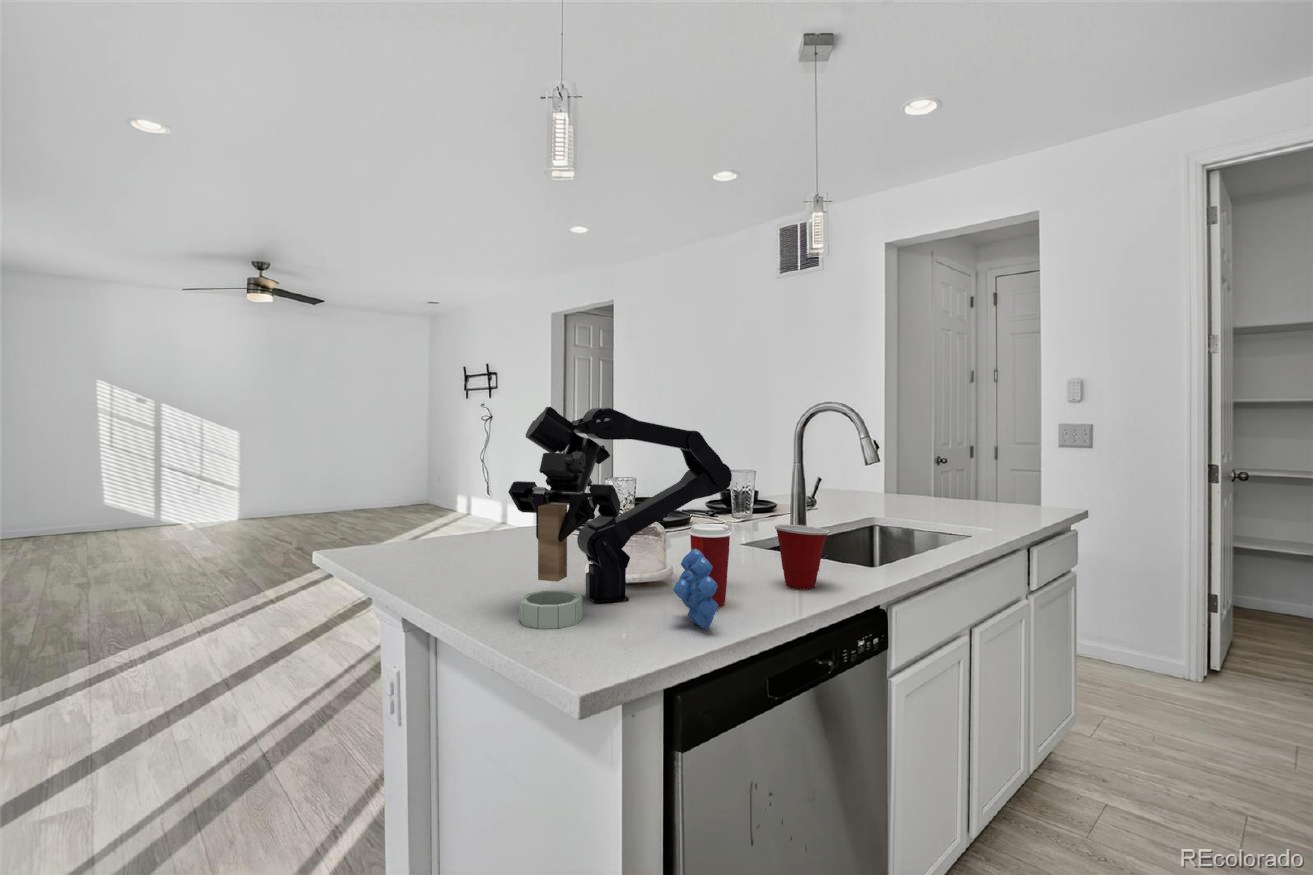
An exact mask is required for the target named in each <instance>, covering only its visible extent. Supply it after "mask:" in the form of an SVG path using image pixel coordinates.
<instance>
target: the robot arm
mask: <svg viewBox="0 0 1313 875" xmlns="http://www.w3.org/2000/svg"><path fill="white" fill-rule="evenodd" d="M579 434H584V435H586V436H587V438H586V437H583V436H581V435H579ZM525 438H526V439H527V440H530V441H531V442H533V443H534V444H535V445H537V446H538V447H540V448H541V449H542V450H545V451H546V452H543V453H542V457H541V460H540V467H539V473H540V474H543V475H544V476H545V477H546V479H545V484H546V485H547V486H548V487H550V489H548V488H546V487H544V486H538V485H537V484H536V482H535V481H525V480H524V481H521V480H520V481H519V480H517V481H513V482H512V484H511V485H510V487H509V489H508V494H509V496H510V498H511V501H513V503H514V505H515V507H516V508H517V510H518V511H519V512H521V513H531V514H535V518H536V519H535V527H536V528H535V535H536V539H537V540H538V506H541V505H545V504H565V505H567V506H568V508H567V514H566V516H565V519H564V521H563V524H562V526H561V529H560V532H559V536H558V540H559V541H560V542H562V541H563V540H564V539H566V538H567V539H568V537H569V536H571V534H572V533H574V532H575V531H576V530H577V529H578V528H580V527H581V526H583V525H584V524H586V525H584V526H583V527H581V529H579V531H578V535H577V539H576V542H577V546H578V548H579V550H580V551H581V552H582V553H584V554H585V556H586V558H587V561H588V562H590V563H588V572H585V596H586V597H588V598H589V599H590V600H591V601H592V602H593V603H595V604H603V603H612V602H613V603H615V602H623V601H629V599H630V597H629V596H628V595H627V594H626V590H627V589H626V587H627V585H626V580H627V579H626V578H627V576H626V573H627V572H626V569H628V567H629V566H628V565H629V563H630V559H631V556H630V555H629V554H628V553H627V552H626V551H625V550H623V548H624V547H625V546H626V545H627V543H628V542H629V541H630V539H631V538H632V537H633V536H634V535H635V534H637V533H639V532H641V531H642V530H643V531H644V529H646V528H647V527H649V526H651V525H652V524H655V523H656V522H658V521H659V520H662V519H663V518H665V517H667V516H668V515H669V514H672V513H673V512H675V511H676V510H678V509H680V508H682V507H683V506H685V505H687V504H689V503H691V502H692V501H694V500H698V499H702V498H707V497H711V496H713V495H717V494H720V493H722V492H725V491H727V490H728V488H730V486H731V485H732V484H731V482H732V481H733V480H732V479H733V478H732V476H733V475H732V471H731V468H730V467H729V466H728V465H727V464H726V463H724V462H723V460H722V459H721V457H720V455H718V454H717V452H716V451H715V450H714V449H713V448H712V447H711V446H710V445H709V444H708V442H707V441H706V439H705V438H704V436H703V434H702V433H701V432H700V431H699V430H689V429H688V430H687V429H682V428H676V427H673V426H668V425H667V426H666V425H662V424H657V423H652V422H647V421H642V420H638V419H636V418H634V417H631V416H630V415H627V414H626V413H624V412H620V411H618V410H616V409H614V408H610V407H594V408H590V409H589V410H588V411H586V412H585V414H584V415H583V416H582V417H581V418H578V419H577V420H572V421H570V420H569V419H567V418H566V417H564V416H563V415H561V414H560V413H559V412H558V411H557V410H556V409H554V408H553V407H552V406H546V407H545V408H544V410H543V411H542V412H540V414H539V415H538V416H537V417H536V418H535V420H534V419H533V421H532V422H531V424H530V425H529V426H528V429H527V431H526V433H525ZM594 439H595V440H605V441H606V440H607V441H609V440H617V441H619V440H622V441H623V440H631V441H632V440H633V441H638V442H643V443H649V444H655V445H659V446H664V447H670V448H675V449H679V450H680V451H681V453H682V456H683V460H684V463H685V465H686V466H687V469H688V470H687V471H686V472H685V473H684V474H683V476H682V477H681V478H680V480H679V481H677V482H676V483H674V484H672V485H671V486H669V487H667V488H665V489H664V490H662V491H660V492H658V493H657V494H655V495H653V496H652V497H650V498H648V499H646V500H644V501H642V502H641V503H639V504H637V505H635V506H634V507H632V508H630V509H629V510H626V511H625V512H623V513H622V514H620V511H621V501H620V498H619V495H618V493H617V490H616V488H615V487H614V485H613V484H601V483H593V481H592V478H591V476H592V473H593V470H594V468H595V465H596V464H597V465H600V464H602V463H604V462H605V461H606V460H607V459H609V458H610V456H611V455H610V452H609V451H608V450H607V449H606V446H605V445H600V444H599V443H597V442H596V441H595V440H594ZM564 451H565V452H564ZM587 487H589V488H588V491H589V492H586V491H587ZM596 509H597V512H598V514H599V515H597V516H596V515H595V511H596ZM619 514H620V515H619Z"/></svg>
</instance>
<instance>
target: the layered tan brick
mask: <svg viewBox="0 0 1313 875" xmlns="http://www.w3.org/2000/svg"><path fill="white" fill-rule="evenodd" d="M567 512H568V505H565V504H545V505H541V506H538V539H537V577H538V578H537V580H538V581H546V582H547V581H548V582H556V583H557V582H560V581H562V580H564V579H566V578H567V577H568V574H567V573H568V537H567V538H566V539H564V540H563V541H562V542H560V541H559V540H558V536H559V532H560V529H561V526H562V524H563V521H564V519H565V516H566V514H567Z"/></svg>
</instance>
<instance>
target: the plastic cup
mask: <svg viewBox="0 0 1313 875" xmlns="http://www.w3.org/2000/svg"><path fill="white" fill-rule="evenodd" d="M774 529H775V530H776V533H777V534H776V535H777V539H778V540H777V541H778V544H779V545H778V546H779V552H780V559H781V566H782V570H783V577H784V578H783V579H784V584H785V586H786V587H787V586H788V587H787V588H789V587H790V588H789V589H792V588H793V590H801V589H802V591H803V590H804V589H806V590H812V589H811V588H813V589H814V587H816V584H817V579H818V573H819V570H820V566H821V559H822V555H823V548H824V546H825V542H826V540H827V537H828V535H830V530H828V529H825V528H822V527H816V526H815V527H814V526H808V525H800V524H785V523H784V524H775V525H774ZM804 591H805V590H804Z"/></svg>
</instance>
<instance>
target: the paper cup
mask: <svg viewBox="0 0 1313 875" xmlns="http://www.w3.org/2000/svg"><path fill="white" fill-rule="evenodd" d="M687 534H688V535H689V536H690V551H691V550H692V549H698V550H699V551H700V552H701V553H702V554H703V555H704V557H705V558H706V559H707V560H708V561H709V562H710V563H711V565H712V566H713V568H712V570H711V572H710V574H709V575H708V576H709V577H711V578H712V579H713V580H714V581H715V582H716V583H717V585H718V587H717V590H716V592H715V594H714V595H713V596H712V597H711V598H713V599H714V601H715V602H716V603H717V604H718V609H719V607H720V608H722V607H725V605H726V596H727V587H728V586H727V584H728V583H727V582H728V568H729V555H730V541H731V540H730V538H731V535H732V534H733V533H732V532H731V530H730V527H729V526H728V525H726V524H722V523H696V524H693V525H691V527H690V529H689V531H688V532H687Z"/></svg>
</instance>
